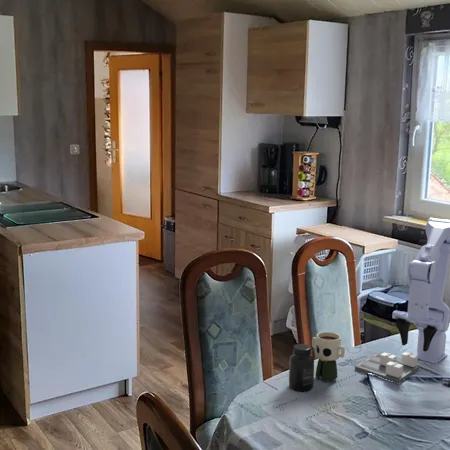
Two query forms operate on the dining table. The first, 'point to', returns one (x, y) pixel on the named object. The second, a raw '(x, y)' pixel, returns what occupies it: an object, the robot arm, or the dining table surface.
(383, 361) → the block
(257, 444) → the dining table surface
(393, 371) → the block
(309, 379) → the supplement bottle
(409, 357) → the block
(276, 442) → the dining table surface
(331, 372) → the character mug
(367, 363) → the panel
